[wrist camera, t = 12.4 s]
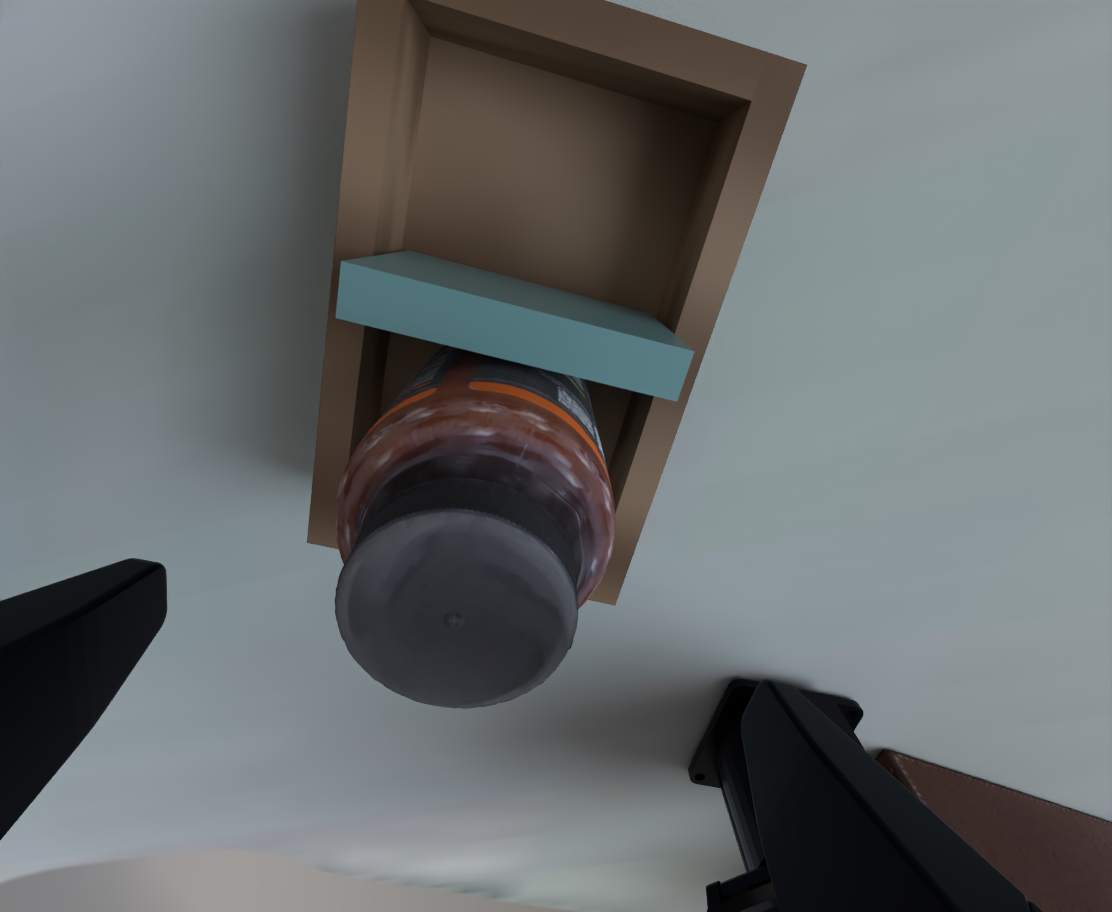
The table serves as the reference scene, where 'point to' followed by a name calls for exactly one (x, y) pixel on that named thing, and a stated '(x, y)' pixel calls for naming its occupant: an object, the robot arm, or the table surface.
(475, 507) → the supplement bottle
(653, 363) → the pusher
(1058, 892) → the letter holder
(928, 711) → the table surface
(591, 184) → the brown shallow box
